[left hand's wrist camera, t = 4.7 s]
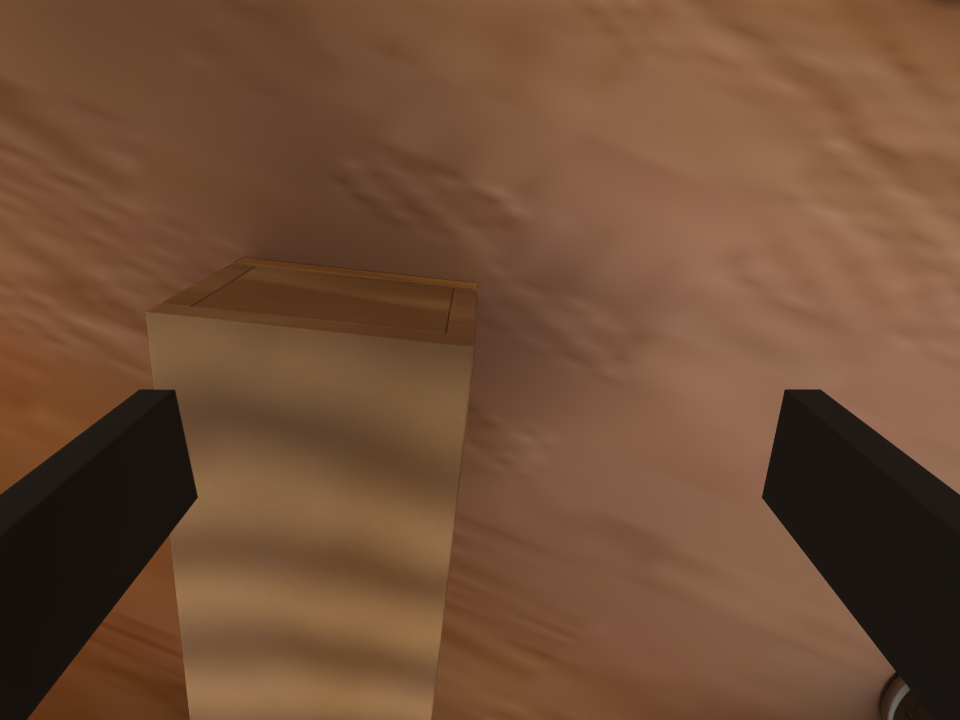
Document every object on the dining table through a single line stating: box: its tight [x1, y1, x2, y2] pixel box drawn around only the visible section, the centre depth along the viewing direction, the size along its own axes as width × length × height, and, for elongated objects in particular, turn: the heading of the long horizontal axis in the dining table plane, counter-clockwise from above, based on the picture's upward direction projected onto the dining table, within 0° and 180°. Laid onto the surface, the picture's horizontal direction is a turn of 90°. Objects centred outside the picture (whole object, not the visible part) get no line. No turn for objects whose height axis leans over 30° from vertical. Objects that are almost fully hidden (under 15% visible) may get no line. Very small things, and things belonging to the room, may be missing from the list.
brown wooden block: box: [146, 257, 477, 720], centre depth 27 cm, size 20×11×8 cm, turn 174°
